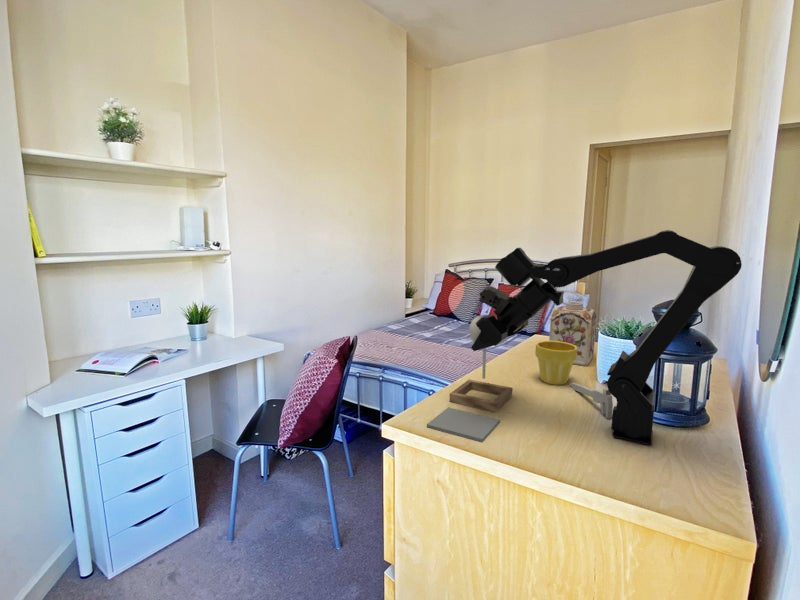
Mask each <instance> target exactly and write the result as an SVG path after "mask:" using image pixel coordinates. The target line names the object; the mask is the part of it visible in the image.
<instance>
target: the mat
mask: <svg viewBox="0 0 800 600" xmlns="http://www.w3.org/2000/svg"><path fill="white" fill-rule="evenodd" d="M500 423H501V419H499V418H497V417H496V418H495V417H490V416H487V415H483V414H478V413H474V412H470V411H466V410H461V409H457V408H453V407H447V408H446V409H444V410H443V411H441V412H440V413H439V414H437V415H436V416H435V417H434V418H433V419H432V420H430V421H429V422H428V423H427V424H426V428H428V429H432V430H437V431H440V432H444V433H447V434H451V435H453V436H454V435H455V436H459V437H463V438H466V439H469V440H474V441H477V442H480V443H483V442H484V441H485V440H486V439H487V437H488V436H489V435H491V433H492V432H493V431H494V430H495V429H496V428H497V426H498V425H499V424H500Z"/></svg>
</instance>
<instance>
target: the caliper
mask: <svg viewBox="0 0 800 600" xmlns="http://www.w3.org/2000/svg"><path fill="white" fill-rule="evenodd" d="M568 386H569V387H570V388H571V389H572V390H574V391H577V392H578V393H581V394H583V395H586V396H587V397H590V398H592V401H593V403H596V404H599V405H600V410H601V416H603V417H605V419H612V413H613V408H614V405H613V395H612V394H611V393H610V392H609V390H608V388H602V391H601V390H599V389H591V388H589V387H587V386H584V385H582V384H579V383H577V382H570V383H569V385H568Z"/></svg>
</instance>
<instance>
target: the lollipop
mask: <svg viewBox="0 0 800 600" xmlns="http://www.w3.org/2000/svg"><path fill="white" fill-rule="evenodd" d="M486 315H487V314H481V315H478V316H476V317H475V318H473V319H472V321H471V322H470V323H469V324H470V325H469V327H468V329H469V330H468V334H469V336H470V339H471V340H472V341H473V343H474V342H475V340H476V339H477V337H478V336H479V334H480V332H481V330H480V329H479V328H478V327H477V326H476V322H477V321H479V320H480V319H481V318H482V317H484V316H486ZM486 355H487V348H483V349H482V374H481V375H482V379H483V380H484V379H486V363H487V362H486V361H487V360H486V357H487V356H486Z"/></svg>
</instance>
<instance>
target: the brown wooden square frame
mask: <svg viewBox="0 0 800 600" xmlns="http://www.w3.org/2000/svg"><path fill="white" fill-rule="evenodd" d="M472 390H475V391H478V392H482V393H489V394H494V395H497V397H496V398H494V400H492V399H486V398H481V397H477V396H472V395H467V393H468V392H470V391H472ZM513 390H514V389H513V387H510V386H507V385H506V386H505V385H500V384H494V383H489V382H485V381H480V380H475V379H474V380H473V379H467V380H466V381H465V382H464V383H462V384H461V385H459V386H458V387H457V388H455V389H454V390H453V391H451V392H450V393H449V402H450V403H453V404H456V405H457V404H458V405H462V406H467V407H471V408H475V409H476V408H477V409H480V410H484V411H489V412H492V413H497V412H499V410H500V409H501V408H502V407H504V405H505V404H506V403H507V402H508V401H509V400H510V398H512V397H513Z"/></svg>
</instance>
